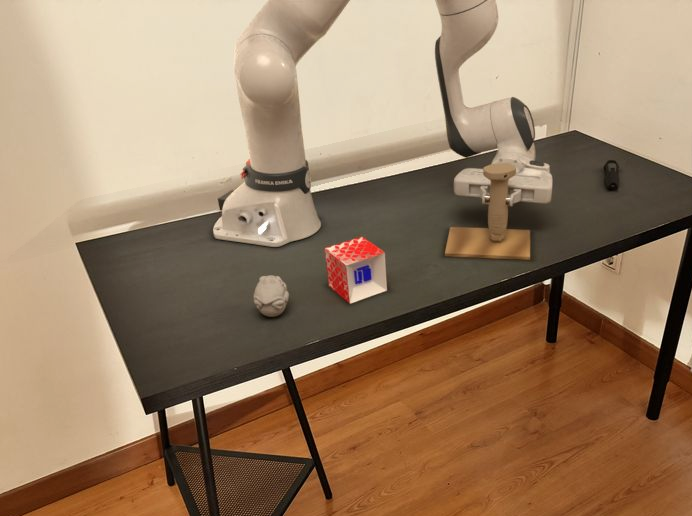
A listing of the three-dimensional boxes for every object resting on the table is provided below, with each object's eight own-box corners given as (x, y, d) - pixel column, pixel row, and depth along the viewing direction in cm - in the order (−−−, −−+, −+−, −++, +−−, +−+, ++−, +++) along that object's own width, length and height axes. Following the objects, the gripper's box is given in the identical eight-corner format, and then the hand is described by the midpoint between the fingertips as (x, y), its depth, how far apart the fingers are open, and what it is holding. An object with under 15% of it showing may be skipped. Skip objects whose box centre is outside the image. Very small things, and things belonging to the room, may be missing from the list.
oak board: (444, 256, 144) (444, 252, 144) (450, 230, 154) (450, 226, 154) (529, 260, 143) (530, 256, 143) (529, 233, 153) (530, 229, 152)
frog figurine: (295, 303, 130) (290, 269, 126) (286, 324, 124) (281, 289, 120) (261, 302, 130) (255, 268, 126) (251, 324, 124) (244, 289, 120)
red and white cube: (365, 273, 139) (362, 236, 134) (387, 290, 133) (384, 252, 129) (328, 286, 135) (324, 248, 130) (349, 304, 130) (345, 265, 125)
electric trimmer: (603, 193, 171) (605, 181, 169) (603, 168, 183) (604, 156, 181) (619, 194, 170) (621, 182, 168) (618, 169, 182) (619, 157, 180)
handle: (516, 240, 147) (520, 169, 138) (488, 246, 145) (490, 175, 136) (505, 230, 151) (508, 161, 142) (477, 236, 148) (479, 166, 140)
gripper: (460, 156, 153) (445, 181, 142) (557, 164, 149) (549, 191, 138) (460, 184, 157) (446, 211, 146) (554, 193, 153) (546, 221, 142)
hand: (497, 201), depth 142 cm, fingers closed on handle, 3 cm apart
